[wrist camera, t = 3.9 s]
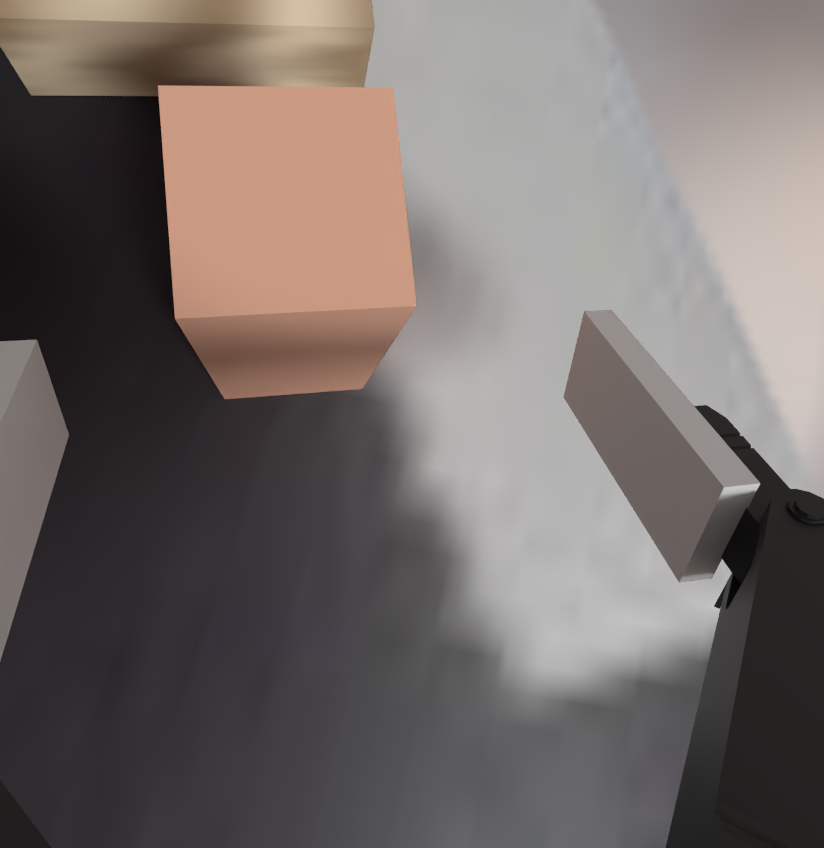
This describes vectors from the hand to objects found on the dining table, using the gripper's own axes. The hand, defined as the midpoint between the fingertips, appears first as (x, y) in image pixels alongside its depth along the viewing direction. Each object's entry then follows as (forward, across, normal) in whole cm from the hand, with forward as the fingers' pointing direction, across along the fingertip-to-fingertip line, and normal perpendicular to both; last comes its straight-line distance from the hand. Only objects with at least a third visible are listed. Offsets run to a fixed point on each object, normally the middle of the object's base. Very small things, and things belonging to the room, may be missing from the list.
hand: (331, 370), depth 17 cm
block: (+8, -1, -4) cm, 9 cm away
